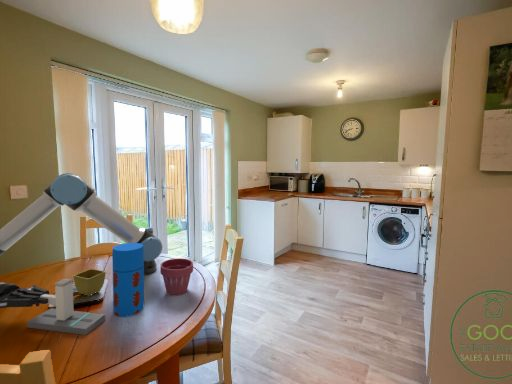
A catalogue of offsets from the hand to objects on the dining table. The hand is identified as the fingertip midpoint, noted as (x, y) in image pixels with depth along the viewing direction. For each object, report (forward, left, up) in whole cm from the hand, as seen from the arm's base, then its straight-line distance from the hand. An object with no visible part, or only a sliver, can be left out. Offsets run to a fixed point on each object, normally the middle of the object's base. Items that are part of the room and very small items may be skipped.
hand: (58, 300), depth 93 cm
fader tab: (-2, 0, -6) cm, 6 cm away
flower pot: (-4, -22, -9) cm, 24 cm away
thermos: (-22, -4, -9) cm, 24 cm away
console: (-3, +1, -8) cm, 9 cm away
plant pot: (-40, -16, -9) cm, 44 cm away
